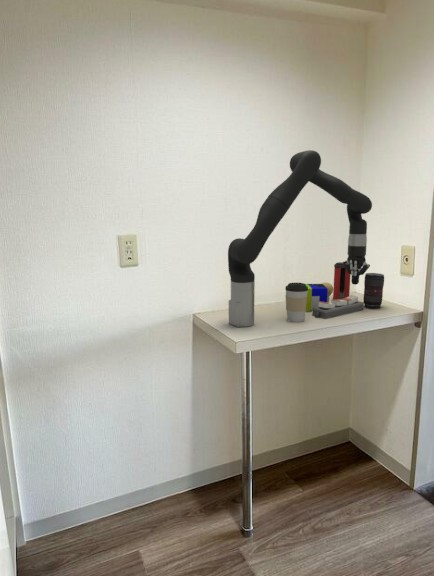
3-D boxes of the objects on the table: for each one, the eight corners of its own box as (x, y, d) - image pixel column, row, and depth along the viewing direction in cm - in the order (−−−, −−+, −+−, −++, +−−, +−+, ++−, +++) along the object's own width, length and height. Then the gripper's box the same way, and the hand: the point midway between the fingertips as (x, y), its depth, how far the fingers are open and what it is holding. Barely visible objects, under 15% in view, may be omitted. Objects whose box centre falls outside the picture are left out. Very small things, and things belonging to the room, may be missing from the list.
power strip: (322, 319, 170) (322, 311, 170) (309, 315, 176) (309, 308, 175) (363, 309, 184) (363, 302, 184) (350, 306, 190) (350, 299, 189)
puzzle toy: (326, 311, 183) (327, 288, 181) (303, 311, 183) (304, 288, 181) (321, 305, 192) (322, 283, 190) (299, 305, 193) (300, 283, 191)
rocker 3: (349, 305, 181) (348, 300, 180) (342, 303, 184) (342, 299, 183) (358, 300, 184) (358, 296, 183) (351, 299, 187) (351, 294, 186)
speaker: (332, 302, 198) (334, 264, 194) (332, 298, 205) (333, 261, 201) (350, 303, 196) (352, 264, 192) (348, 299, 203) (350, 262, 199)
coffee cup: (284, 315, 176) (285, 280, 173) (306, 316, 175) (307, 281, 172) (284, 322, 168) (285, 285, 164) (307, 323, 166) (309, 285, 163)
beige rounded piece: (314, 303, 196) (316, 282, 194) (325, 302, 199) (326, 281, 197) (324, 306, 190) (326, 284, 188) (335, 304, 193) (336, 283, 191)
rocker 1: (324, 308, 173) (325, 303, 172) (318, 306, 176) (319, 301, 175) (334, 308, 176) (335, 303, 176) (327, 306, 179) (328, 301, 179)
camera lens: (383, 309, 184) (386, 276, 181) (364, 309, 185) (366, 275, 182) (380, 305, 192) (382, 272, 188) (361, 304, 193) (363, 272, 190)
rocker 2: (337, 305, 177) (337, 301, 176) (330, 304, 180) (331, 299, 179) (346, 305, 180) (347, 300, 180) (340, 303, 183) (340, 298, 183)
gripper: (338, 243, 183) (337, 282, 187) (364, 246, 172) (362, 287, 176) (350, 242, 187) (348, 280, 191) (376, 245, 176) (373, 285, 180)
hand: (355, 284), depth 184 cm, fingers closed
